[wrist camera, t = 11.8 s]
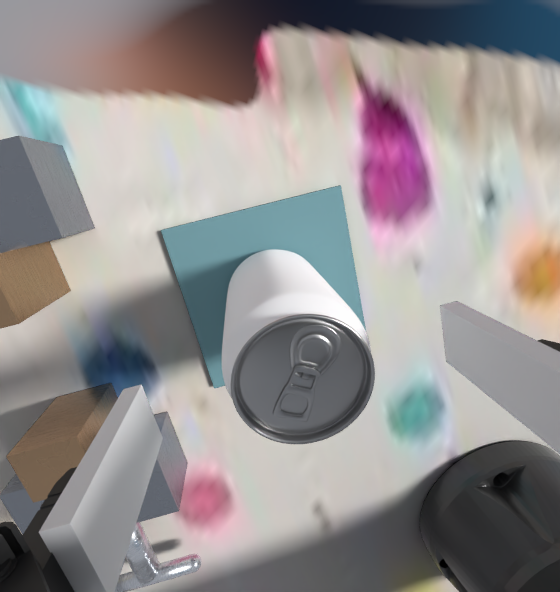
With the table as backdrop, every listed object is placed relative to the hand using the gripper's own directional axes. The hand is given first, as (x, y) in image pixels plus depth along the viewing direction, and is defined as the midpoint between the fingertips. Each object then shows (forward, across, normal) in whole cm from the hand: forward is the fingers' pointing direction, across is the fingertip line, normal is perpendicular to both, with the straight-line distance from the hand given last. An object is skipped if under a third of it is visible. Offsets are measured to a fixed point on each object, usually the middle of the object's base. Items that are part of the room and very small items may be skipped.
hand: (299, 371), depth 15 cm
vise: (+11, +15, +3) cm, 19 cm away
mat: (+11, 0, -1) cm, 11 cm away
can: (+11, 0, -1) cm, 11 cm away
